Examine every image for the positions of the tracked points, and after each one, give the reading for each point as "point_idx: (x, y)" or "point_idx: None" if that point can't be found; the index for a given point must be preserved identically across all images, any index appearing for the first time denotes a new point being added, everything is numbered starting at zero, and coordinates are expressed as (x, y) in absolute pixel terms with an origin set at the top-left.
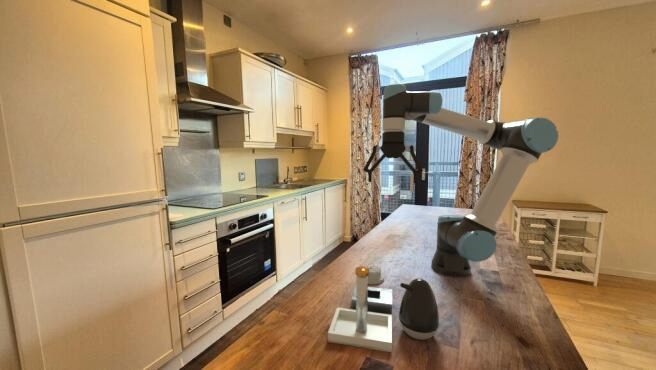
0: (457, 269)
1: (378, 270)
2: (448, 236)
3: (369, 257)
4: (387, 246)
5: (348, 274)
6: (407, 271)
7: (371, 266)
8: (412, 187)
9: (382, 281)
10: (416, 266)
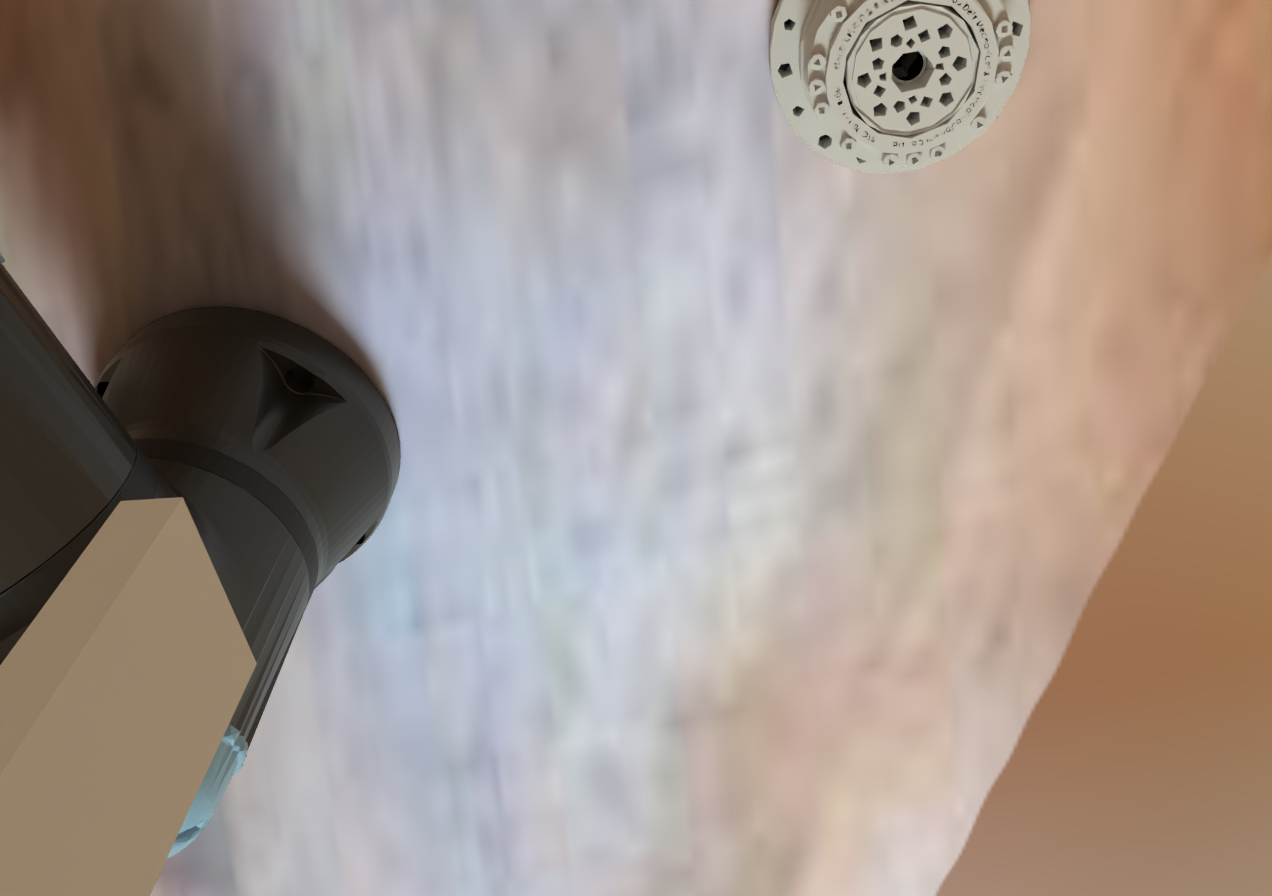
0: (160, 344)
1: (830, 48)
2: (82, 465)
3: (926, 477)
4: (781, 715)
5: (1123, 58)
6: (576, 296)
7: (908, 122)
8: (53, 616)
9: (778, 4)
10: (514, 412)
